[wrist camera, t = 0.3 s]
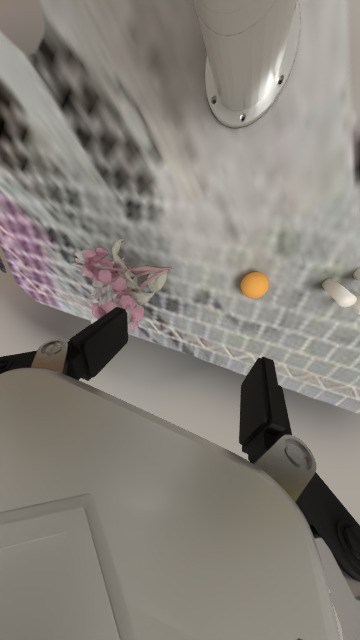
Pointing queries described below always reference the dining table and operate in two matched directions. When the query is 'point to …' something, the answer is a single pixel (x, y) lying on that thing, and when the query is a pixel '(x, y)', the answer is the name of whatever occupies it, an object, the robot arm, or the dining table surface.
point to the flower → (118, 283)
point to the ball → (254, 285)
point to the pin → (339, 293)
